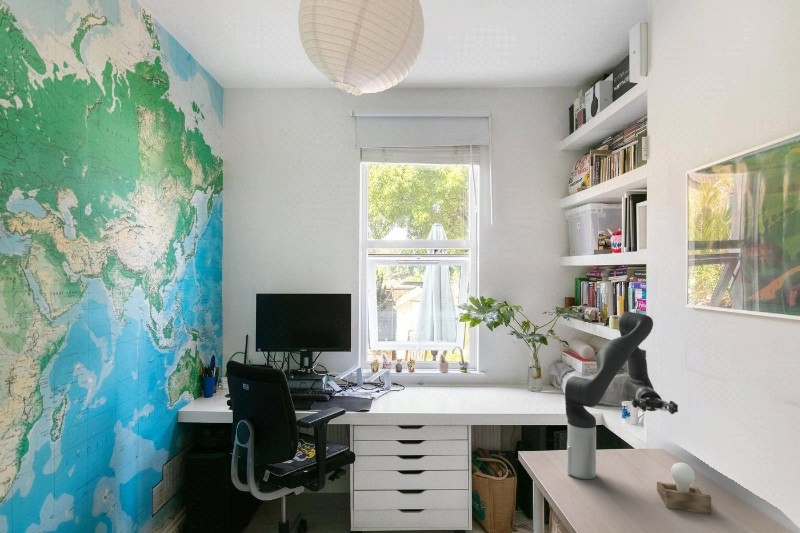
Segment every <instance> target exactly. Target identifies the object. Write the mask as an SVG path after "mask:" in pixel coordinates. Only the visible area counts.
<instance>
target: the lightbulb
mask: <svg viewBox="0 0 800 533" xmlns="http://www.w3.org/2000/svg"><path fill="white" fill-rule="evenodd" d="M670 473H671V476H672V478H673V480H674V481H675V484H676V485H677V490H678V491H684V492H689V487H690V486H692V484H693V482H694V481H695V478H696V477H695V476H696V475H695V471H694V469H693V468H692V467H691V466H690V465H689V464H687V463H685V462H676V463H674V464H673V465H672V466H671V468H670Z"/></svg>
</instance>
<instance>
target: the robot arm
mask: <svg viewBox="0 0 800 533" xmlns="http://www.w3.org/2000/svg"><path fill="white" fill-rule="evenodd" d="M653 327H654V321H653V319H652V317H650V316H649V315H647V314H643V313H637V312H632V311H623V312H622V313H621V314H620V317H619V319H618V330H619V334H620V336H619V337H616V338H613V339H611V340H609V341H607V342H606V343H604V345H603V346H602V347H601V349H599V351H598V353H597V354H596V357H595V358H596V367H597V373H596V375H595V376H594V377H593V378H589V379H588V378H584V377H581V376H580V377H579V376H575V375H574V376H569V378H567V380H566V382H565V387H564V403H565V415H566V419H567V440H566V470H567V475H568V476H572V477H574V478H577V479H582V480H593V479H595V478H596V477H597V420H596V417H595V416H594V415H593V414H592V413H590V412H589V411H588V410H587V409H586V407H588V408H593V407H596V406H597V405H598V404H599V403H600V402H601V400H602V398H603V397H604V395H605V393H606V392H607V390H608V388H609V387H610V384H611V383H612V381H613V380H614V379H615V377H616V375H617V374H618V373H619V371H620V370H621V369H622V368H623V367H624V365H625V364H626V363H627V368H628V375H629V377H630V378H631V379H633V380H628V381H627V382H626V383H625V385H624V389H625V392H626V394H627V396H628V397H630V398H631V405H632V408H639V409H640V410H642V411H643V412H647V411H649V412H655V411H663V412H668V413H669V414H671V415H674V414H675V413H678V412H679V410H678V409H679V404H677V403H676V402H675V401H674V400H673V401H672V400H669V402H668V401H666V400H664V399H662V397H661V396H660V395H659V393H658V392H656V390H654V386H653V384H652V382H651V380H650V377H649V373H648V372H649V371H648V363H647V358H646V356H645V354H644V352H643V351H642V350H641V349H640V347H639V346H640V345H641V344H642V343H643V342H644V341H645V340H646V339H647V338H648V337H649V335H650V334H651V332H652V330H653Z"/></svg>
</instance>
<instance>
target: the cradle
mask: <svg viewBox="0 0 800 533" xmlns="http://www.w3.org/2000/svg"><path fill="white" fill-rule="evenodd" d="M656 490H657V493H658V495H659V496H660V498H661V500H662V502H663V504H664V505H665V508H667V509H674V510H682V511H687V512H693V513H698V514H700V513H701V514H706V515H712V496H711V495H710V494H704V493H702V491H701V489H699V487H697V486H692V485H690V487H689V492H684V491H678V490H677V485H676V483H670V482H669V483H668V482H662V481H657V482H656Z"/></svg>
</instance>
